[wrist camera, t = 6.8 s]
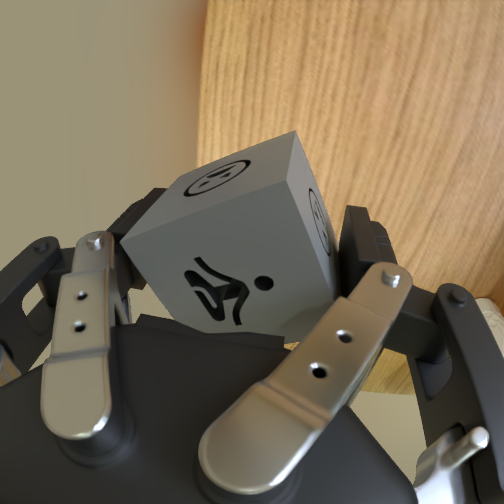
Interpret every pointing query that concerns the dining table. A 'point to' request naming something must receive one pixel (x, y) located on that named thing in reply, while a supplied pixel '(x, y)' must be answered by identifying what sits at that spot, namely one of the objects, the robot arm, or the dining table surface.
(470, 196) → the dining table surface
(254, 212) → the dice cube
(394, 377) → the dining table surface
